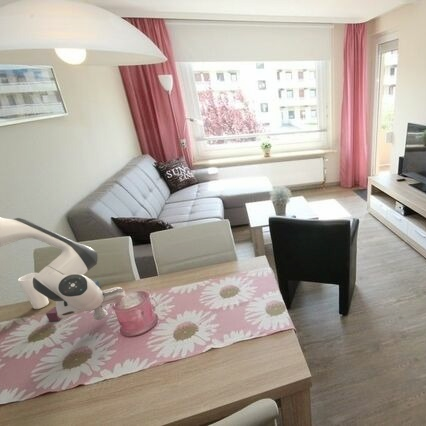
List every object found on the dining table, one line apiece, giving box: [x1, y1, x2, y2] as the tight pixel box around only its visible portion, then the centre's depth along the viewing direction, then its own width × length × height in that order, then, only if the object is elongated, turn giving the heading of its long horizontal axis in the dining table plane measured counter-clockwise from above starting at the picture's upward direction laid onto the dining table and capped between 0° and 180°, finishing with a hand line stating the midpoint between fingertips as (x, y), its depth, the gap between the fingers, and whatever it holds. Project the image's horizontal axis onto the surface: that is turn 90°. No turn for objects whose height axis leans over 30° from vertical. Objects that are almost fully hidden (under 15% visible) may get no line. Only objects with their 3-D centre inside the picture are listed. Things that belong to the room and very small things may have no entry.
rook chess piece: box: [93, 307, 109, 321], centre depth 114 cm, size 4×4×8 cm
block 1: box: [45, 306, 63, 322], centre depth 120 cm, size 4×4×4 cm
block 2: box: [92, 280, 101, 289], centre depth 138 cm, size 4×4×4 cm
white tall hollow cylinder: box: [17, 272, 50, 310], centre depth 127 cm, size 7×7×15 cm
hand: (98, 306), depth 114 cm, fingers closed on rook chess piece, 3 cm apart
